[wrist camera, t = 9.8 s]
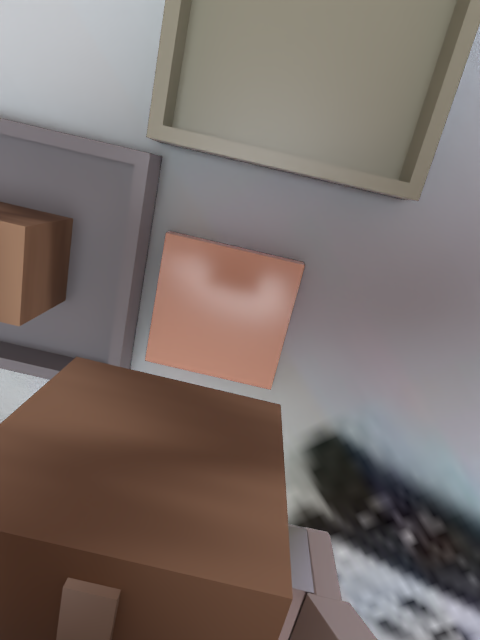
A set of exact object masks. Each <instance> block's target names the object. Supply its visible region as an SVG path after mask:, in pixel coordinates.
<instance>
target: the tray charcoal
mask: <svg viewBox="0 0 480 640" xmlns="http://www.w3.org/2000/svg"><path fill="white" fill-rule="evenodd" d="M161 162H162V156H158V155H154V154H151V153H147V152H142V151H138V150H134V149H130V148H125V147H121V146H117V145H113V144H108V143H104V142H100V141H96V140H91V139H87V138H83V137H78V136H74V135H70V134H66V133H61V132H57V131H53V130H49V129H44V128H40V127H36V126H32V125H27V124H23V123H19V122H14V121H10V120H6V119H2V118H0V202H4V203H8V204H12V205H17V206H21V207H25V208H30V209H34V210H38V211H42V212H47V213H51V214H55V215H60V216H64V217H68V218H73V227H72V238H71V248H70V259H69V270H68V280H67V291H66V301H64V302H62V303H60V304H58V305H57V306H55V307H53V308H51V309H50V310H48V311H46V312H44V313H42V314H41V315H39V316H37V317H35V318H34V319H32V320H30V321H28V322H26V323H25V324H23V325H21V326H16V325H11V324H7V323H3V322H0V368H2V369H6V370H10V371H15V372H19V373H23V374H28V375H32V376H36V377H41V378H45V379H49V380H51V379H52V378H53V377H54V376H55V375H56V374H58V373H59V372H60V371H61V370H62V369H63V368H64V367H65V366H67V365H68V364H69V363H70V362H71V361H72V360H73V359H75V358H76V357H80V358H85V359H89V360H93V361H97V362H101V363H106V364H110V365H114V366H118V367H123V368H127V369H130V365H131V358H132V352H133V345H134V339H135V332H136V325H137V319H138V312H139V306H140V299H141V293H142V286H143V280H144V273H145V266H146V260H147V253H148V247H149V240H150V234H151V227H152V221H153V214H154V207H155V201H156V194H157V188H158V181H159V175H160V168H161Z"/></svg>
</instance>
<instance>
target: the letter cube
mask: <svg viewBox="0 0 480 640" xmlns="http://www.w3.org/2000/svg"><path fill="white" fill-rule="evenodd" d="M292 600H293V594H292V578H291V562H290V547H289V531H288V515H287V499H286V483H285V468H284V452H283V436H282V420H281V405H279V404H275V403H271V402H267V401H262V400H258V399H254V398H250V397H245V396H241V395H237V394H233V393H228V392H224V391H220V390H216V389H212V388H207V387H203V386H199V385H195V384H190V383H186V382H182V381H178V380H173V379H169V378H165V377H161V376H157V375H152V374H148V373H144V372H140V371H135V370H131V369H127V368H123V367H118V366H114V365H110V364H106V363H101V362H97V361H93V360H89V359H85V358H80V357H76V358H75V359H73V360H72V361H71V362H70V363H69V364H68V365H67V366H65V367H64V368H63V369H62V370H61V371H60V372H59V373H58V374H56V375H55V376H54V377H53V378H52V379H51V380H50V381H48V382H47V383H46V384H45V385H44V386H43V387H42V388H40V389H39V390H38V391H37V392H36V393H35V394H34V395H33V396H31V397H30V398H29V399H28V400H27V401H26V402H25V403H23V404H22V405H21V406H20V407H19V408H18V409H17V410H16V411H14V412H13V413H12V414H11V415H10V416H9V417H8V418H6V419H5V420H4V421H3V422H2V423H1V424H0V640H278V639H279V636H280V633H281V630H282V628H283V625H284V622H285V619H286V617H287V614H288V611H289V608H290V605H291V603H292Z"/></svg>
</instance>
